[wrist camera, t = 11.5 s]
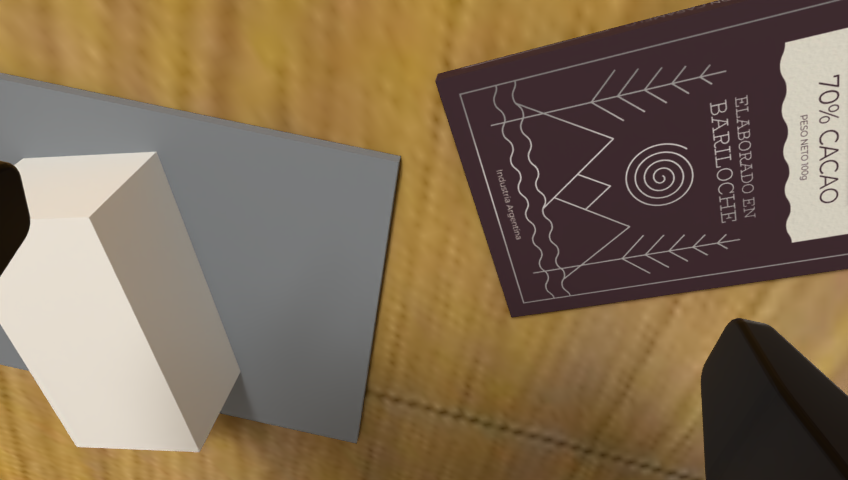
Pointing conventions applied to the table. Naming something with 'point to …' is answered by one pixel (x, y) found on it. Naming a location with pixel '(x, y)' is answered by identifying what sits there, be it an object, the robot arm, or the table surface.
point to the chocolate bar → (661, 154)
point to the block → (115, 306)
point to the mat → (248, 239)
